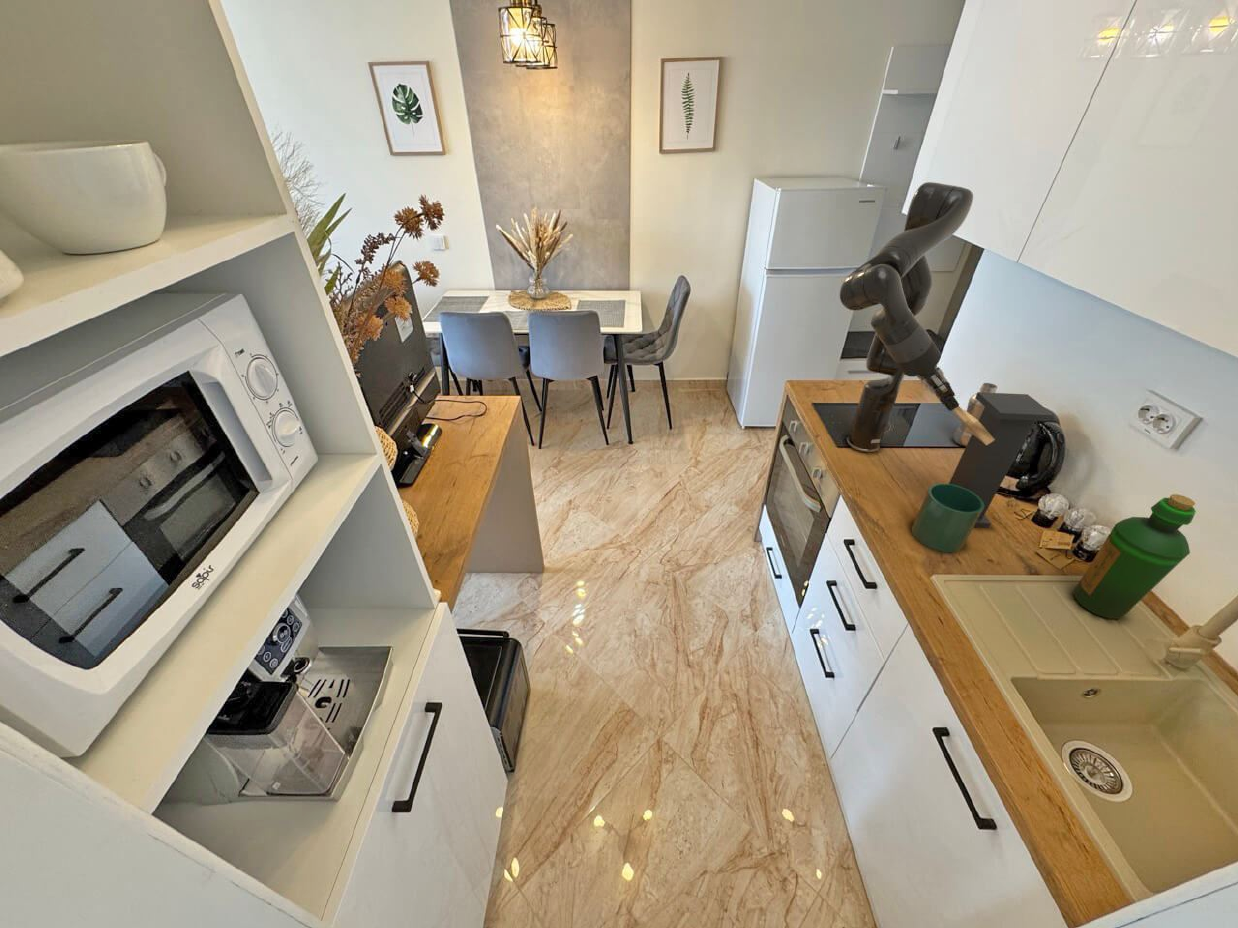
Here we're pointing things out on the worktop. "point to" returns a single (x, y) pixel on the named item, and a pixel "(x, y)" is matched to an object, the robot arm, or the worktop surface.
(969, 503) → the crock
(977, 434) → the spatula
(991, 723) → the worktop surface
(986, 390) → the plastic bottle
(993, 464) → the stand
